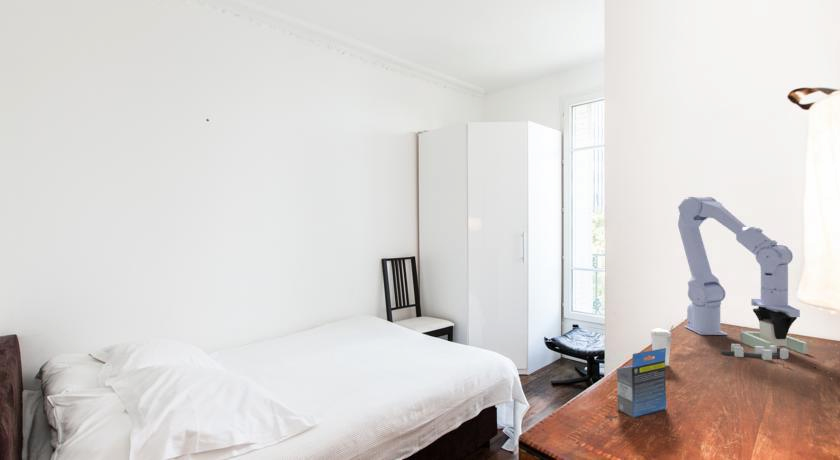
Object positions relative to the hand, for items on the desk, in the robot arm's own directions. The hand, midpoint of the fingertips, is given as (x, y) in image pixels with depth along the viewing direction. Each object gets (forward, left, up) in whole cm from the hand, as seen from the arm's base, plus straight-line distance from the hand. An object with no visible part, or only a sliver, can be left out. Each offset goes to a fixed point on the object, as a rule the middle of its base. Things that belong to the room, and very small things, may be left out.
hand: (773, 336), depth 111 cm
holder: (0, 0, -3) cm, 3 cm away
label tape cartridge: (+39, -52, -4) cm, 66 cm away
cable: (+6, -8, -3) cm, 11 cm away
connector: (0, 0, -2) cm, 2 cm away
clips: (+6, -8, -3) cm, 11 cm away
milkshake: (+14, -36, -4) cm, 39 cm away
